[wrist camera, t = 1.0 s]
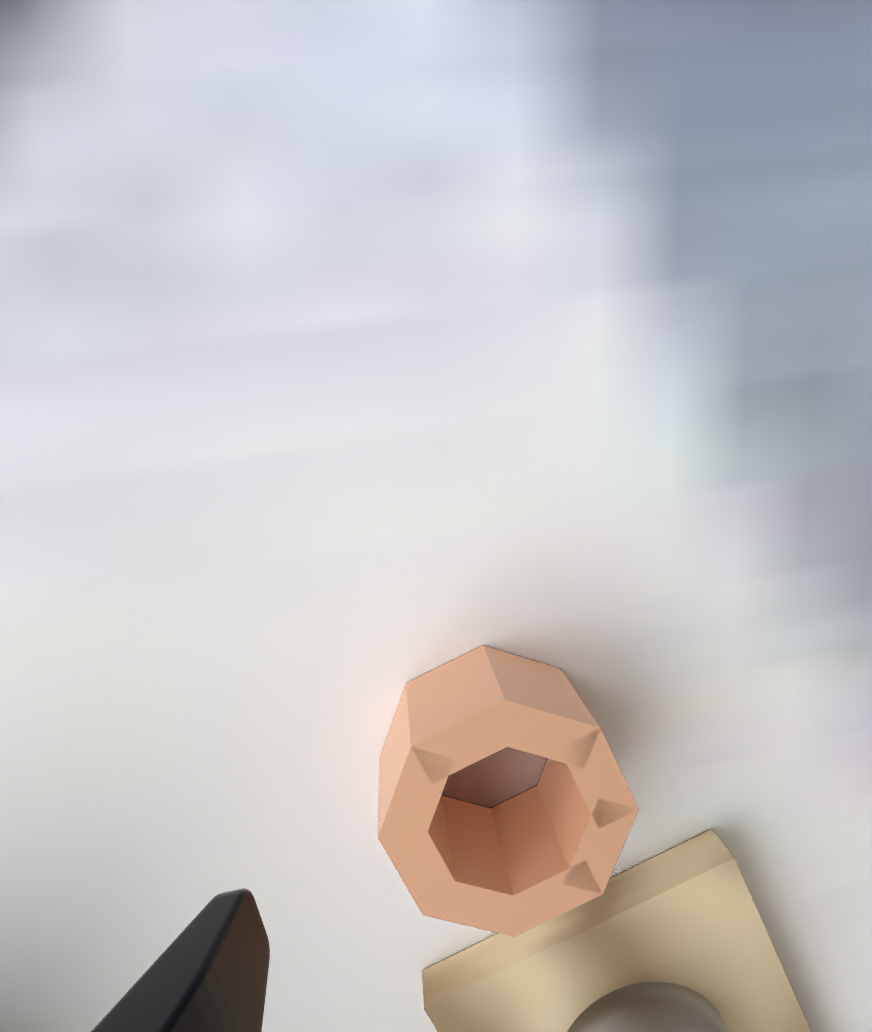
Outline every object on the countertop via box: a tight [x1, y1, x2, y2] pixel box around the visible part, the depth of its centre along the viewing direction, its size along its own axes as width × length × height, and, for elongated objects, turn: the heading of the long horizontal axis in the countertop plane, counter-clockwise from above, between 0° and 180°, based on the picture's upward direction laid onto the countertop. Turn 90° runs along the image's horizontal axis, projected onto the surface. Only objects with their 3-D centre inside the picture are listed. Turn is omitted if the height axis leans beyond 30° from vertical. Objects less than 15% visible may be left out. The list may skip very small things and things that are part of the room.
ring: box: [378, 645, 639, 937], centre depth 20 cm, size 7×7×4 cm
